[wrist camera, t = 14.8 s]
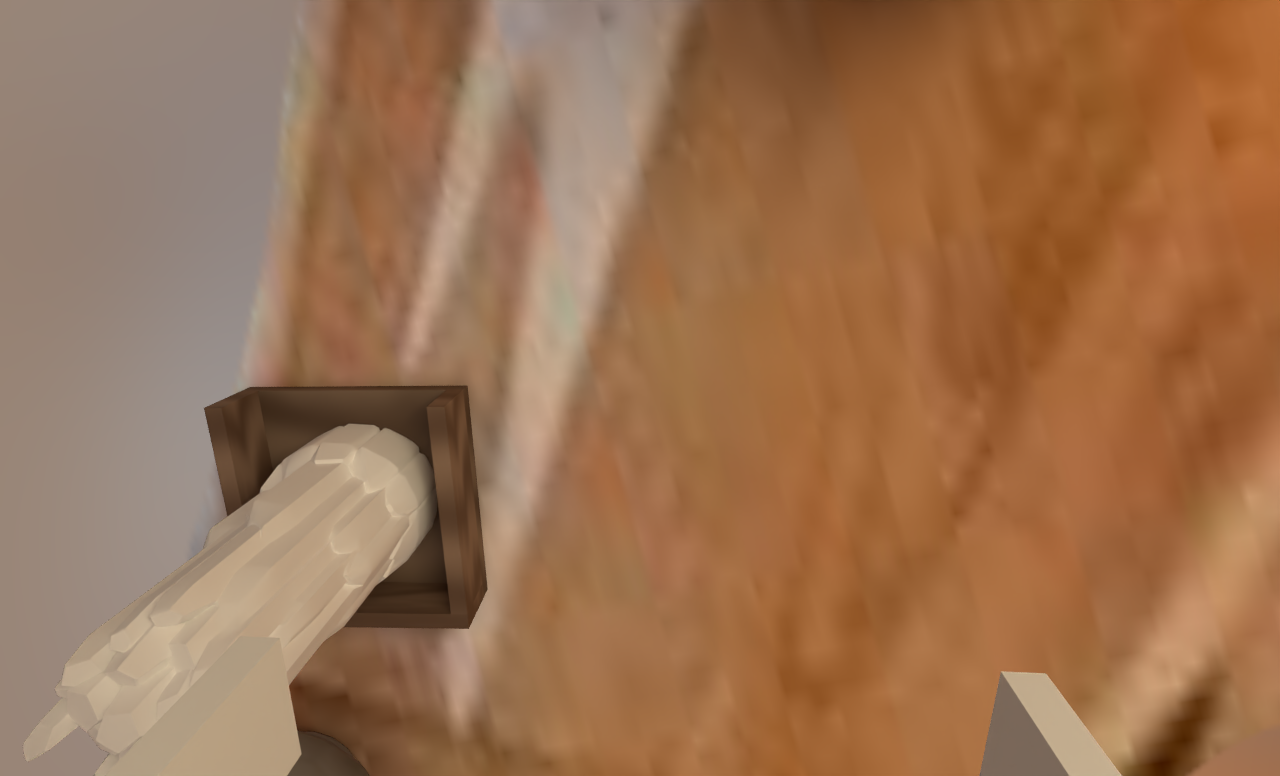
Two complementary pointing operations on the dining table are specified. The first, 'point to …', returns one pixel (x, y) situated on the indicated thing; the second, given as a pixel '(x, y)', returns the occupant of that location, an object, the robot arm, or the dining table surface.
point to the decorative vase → (253, 585)
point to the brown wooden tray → (427, 415)
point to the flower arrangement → (324, 757)
